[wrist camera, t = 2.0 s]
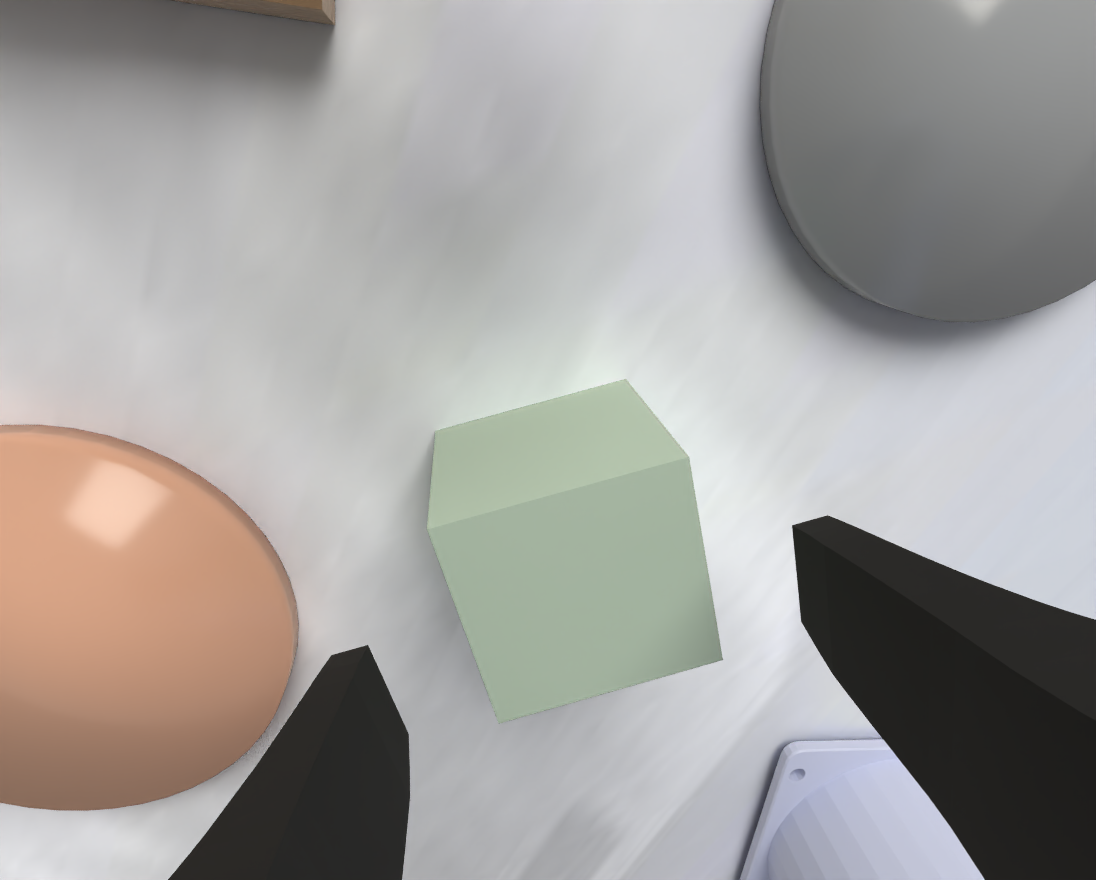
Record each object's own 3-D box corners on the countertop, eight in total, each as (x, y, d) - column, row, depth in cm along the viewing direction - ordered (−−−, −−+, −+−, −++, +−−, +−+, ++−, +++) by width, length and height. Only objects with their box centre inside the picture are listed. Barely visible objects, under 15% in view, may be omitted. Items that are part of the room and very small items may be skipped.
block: (657, 539, 17) (722, 660, 13) (488, 586, 17) (499, 723, 12) (624, 377, 15) (688, 456, 11) (435, 429, 15) (426, 529, 11)
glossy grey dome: (1098, 329, 16) (1138, 339, 15) (714, 292, 14) (731, 301, 13) (1324, -194, 12) (1395, -224, 11) (838, -323, 11) (875, -370, 10)
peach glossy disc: (304, 771, 18) (295, 803, 17) (-110, 782, 16) (-144, 818, 15) (291, 438, 14) (280, 456, 13) (-245, 409, 13) (-299, 428, 12)
